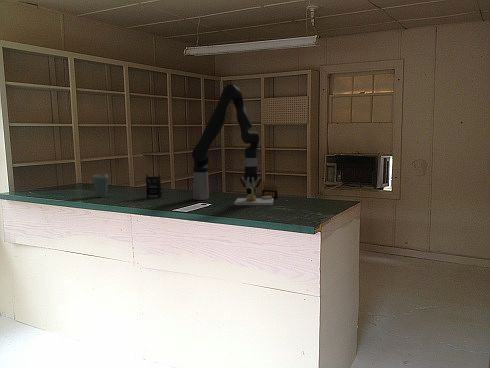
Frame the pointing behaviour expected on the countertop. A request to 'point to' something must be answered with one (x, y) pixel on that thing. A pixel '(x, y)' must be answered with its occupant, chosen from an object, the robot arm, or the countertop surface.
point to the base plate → (255, 201)
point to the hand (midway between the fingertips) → (251, 194)
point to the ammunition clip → (270, 189)
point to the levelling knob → (251, 194)
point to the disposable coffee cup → (100, 184)
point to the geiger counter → (153, 187)
